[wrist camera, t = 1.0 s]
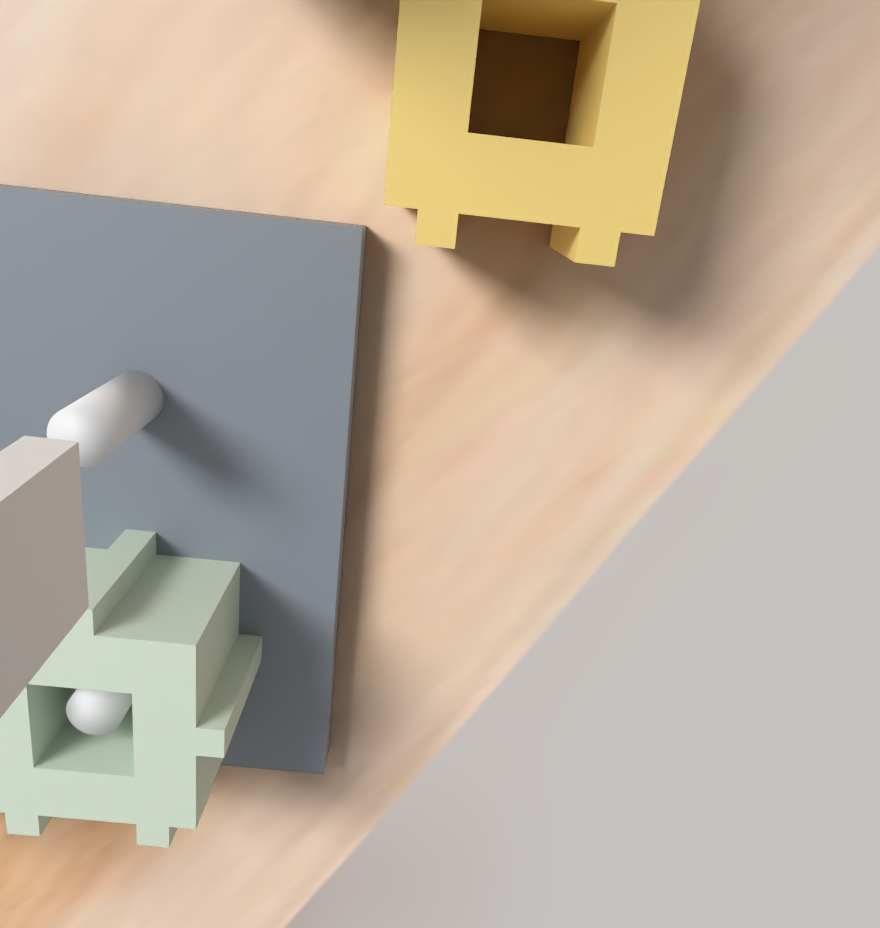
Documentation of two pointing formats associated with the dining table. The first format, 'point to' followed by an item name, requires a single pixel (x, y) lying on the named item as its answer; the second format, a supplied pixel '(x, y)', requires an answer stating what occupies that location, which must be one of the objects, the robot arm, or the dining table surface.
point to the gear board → (180, 494)
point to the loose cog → (530, 161)
